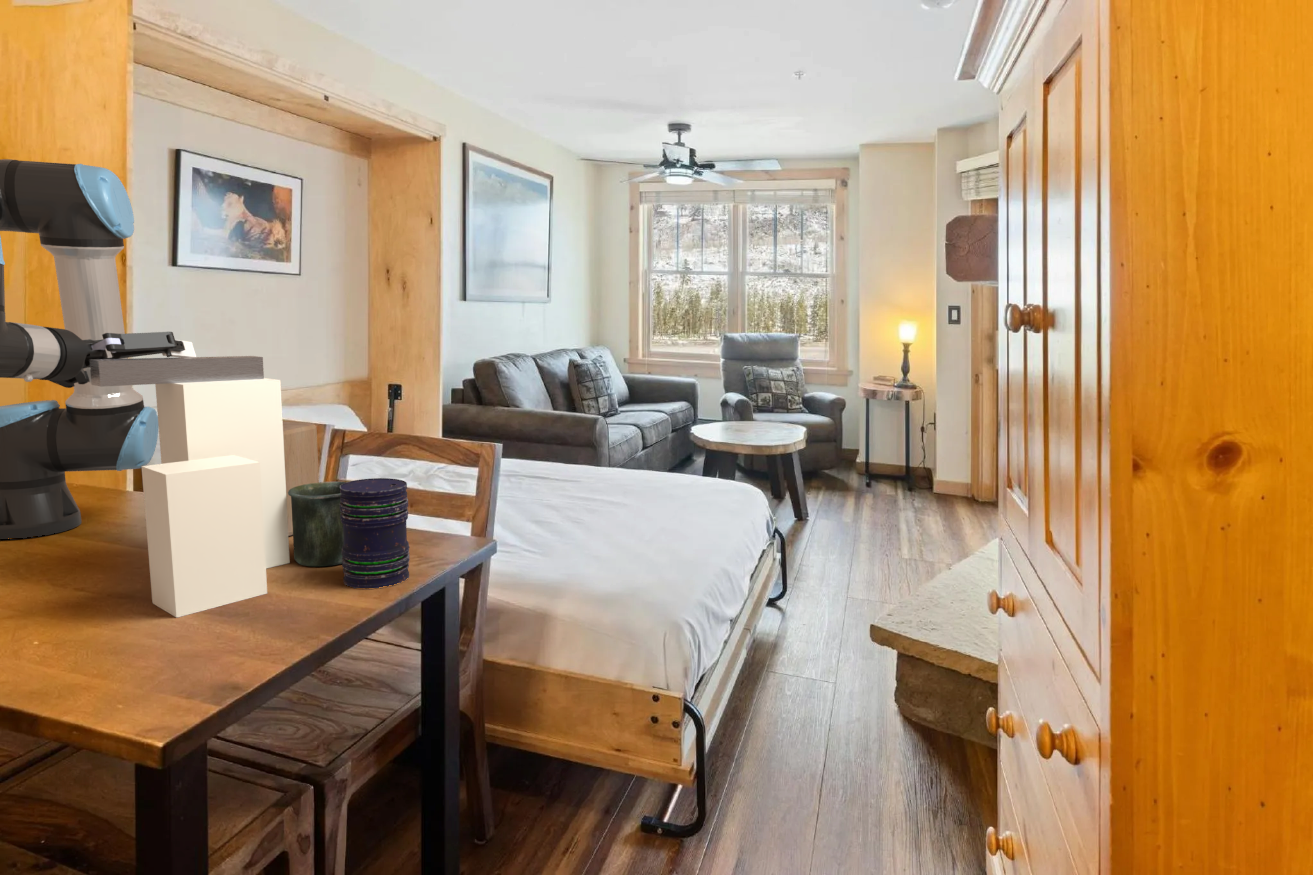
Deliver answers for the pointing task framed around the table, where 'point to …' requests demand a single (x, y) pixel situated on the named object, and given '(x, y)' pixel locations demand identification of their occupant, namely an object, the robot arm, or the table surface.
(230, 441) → the stand
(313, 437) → the block
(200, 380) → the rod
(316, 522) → the mug
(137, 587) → the table surface
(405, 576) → the dark purple barrel
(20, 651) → the table surface
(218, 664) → the table surface
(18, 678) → the table surface
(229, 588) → the step
